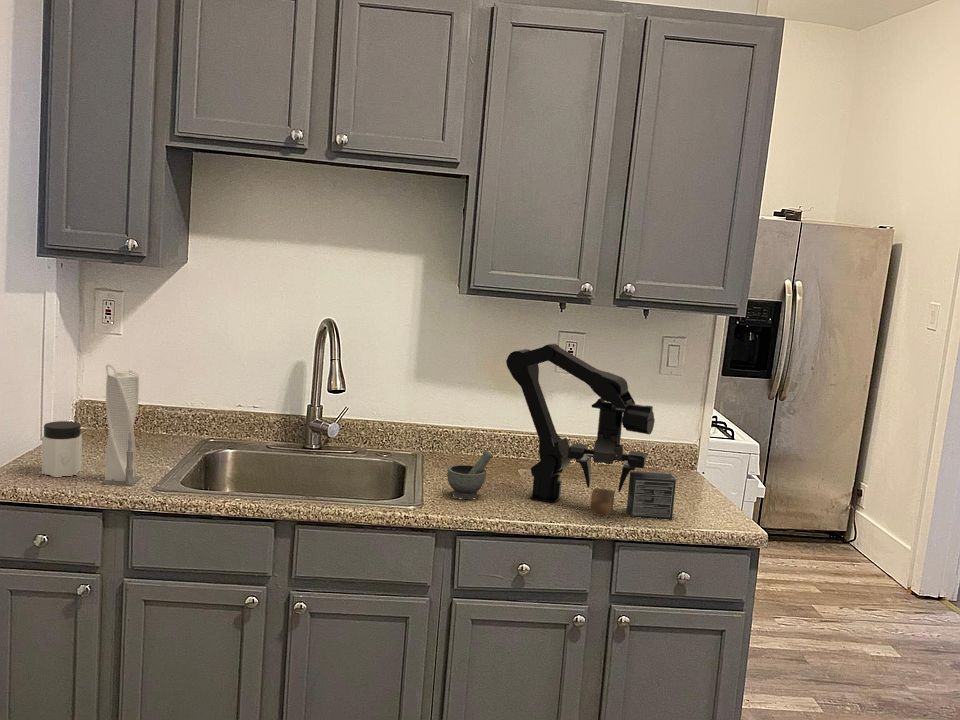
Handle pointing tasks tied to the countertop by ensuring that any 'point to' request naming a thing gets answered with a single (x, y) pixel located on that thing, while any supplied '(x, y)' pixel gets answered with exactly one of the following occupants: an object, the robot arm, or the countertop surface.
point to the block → (602, 501)
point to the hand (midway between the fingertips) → (603, 489)
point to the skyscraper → (121, 427)
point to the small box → (651, 495)
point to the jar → (61, 448)
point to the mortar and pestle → (468, 477)
